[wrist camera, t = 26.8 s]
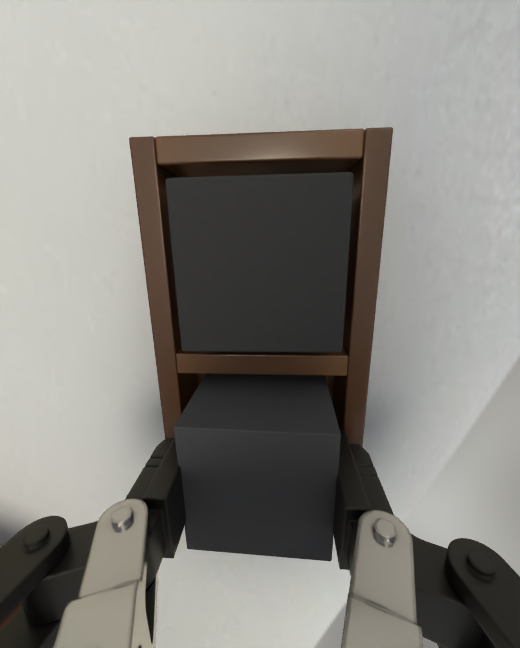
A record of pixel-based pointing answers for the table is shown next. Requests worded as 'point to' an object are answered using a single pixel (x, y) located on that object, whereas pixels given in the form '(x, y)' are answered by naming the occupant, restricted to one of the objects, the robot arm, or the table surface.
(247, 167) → the back frame
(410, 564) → the robot arm
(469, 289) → the table surface
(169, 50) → the table surface
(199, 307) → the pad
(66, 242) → the table surface
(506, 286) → the table surface
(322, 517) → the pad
